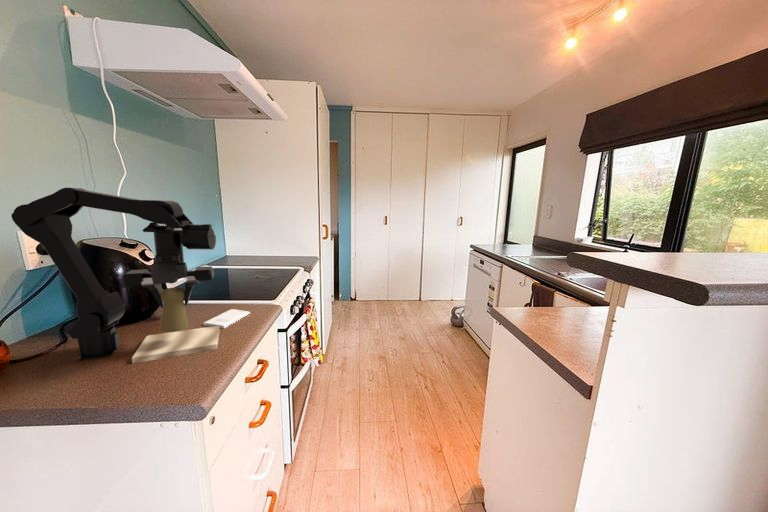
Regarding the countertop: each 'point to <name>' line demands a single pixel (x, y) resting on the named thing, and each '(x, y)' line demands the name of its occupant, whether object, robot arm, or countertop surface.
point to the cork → (174, 310)
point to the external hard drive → (226, 318)
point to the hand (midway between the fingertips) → (174, 306)
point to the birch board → (177, 344)
